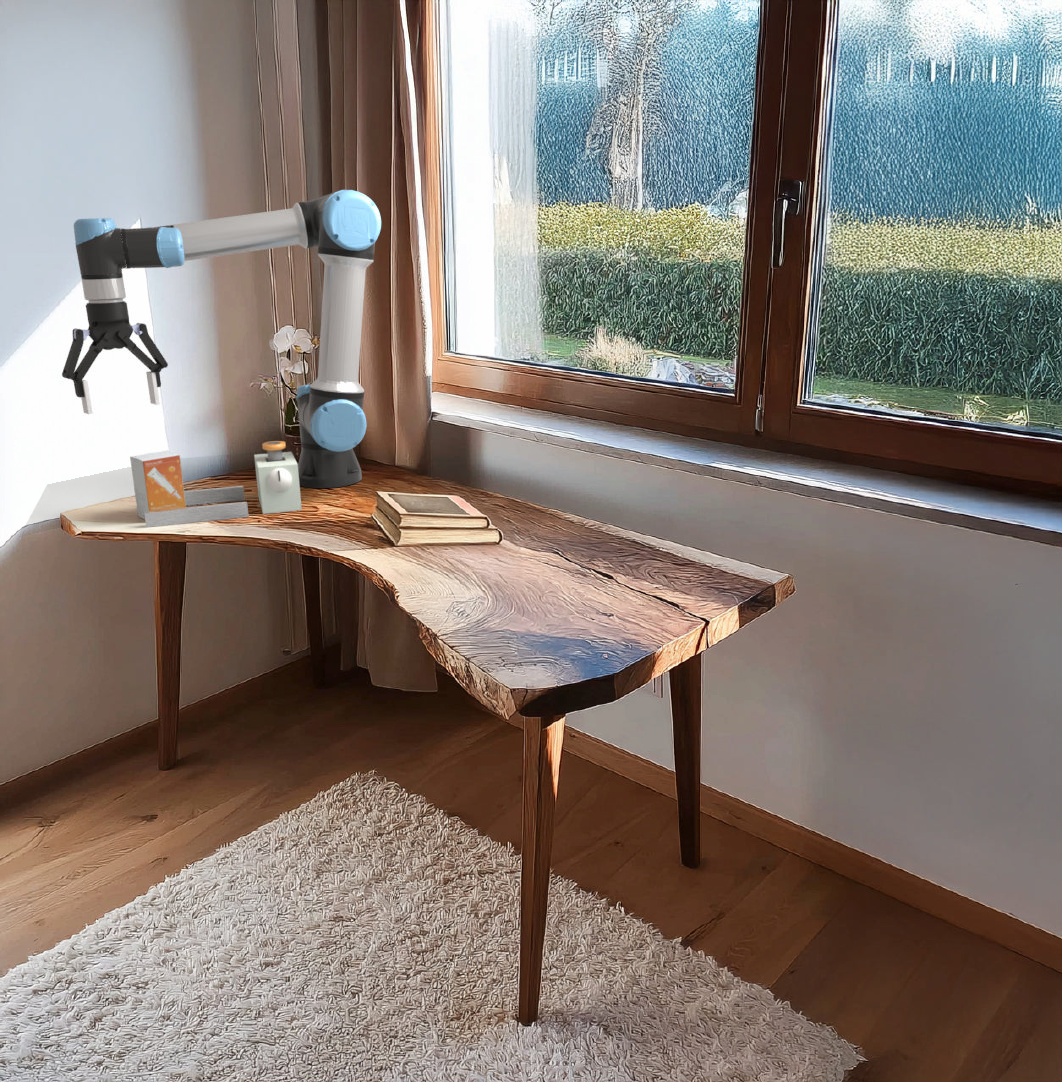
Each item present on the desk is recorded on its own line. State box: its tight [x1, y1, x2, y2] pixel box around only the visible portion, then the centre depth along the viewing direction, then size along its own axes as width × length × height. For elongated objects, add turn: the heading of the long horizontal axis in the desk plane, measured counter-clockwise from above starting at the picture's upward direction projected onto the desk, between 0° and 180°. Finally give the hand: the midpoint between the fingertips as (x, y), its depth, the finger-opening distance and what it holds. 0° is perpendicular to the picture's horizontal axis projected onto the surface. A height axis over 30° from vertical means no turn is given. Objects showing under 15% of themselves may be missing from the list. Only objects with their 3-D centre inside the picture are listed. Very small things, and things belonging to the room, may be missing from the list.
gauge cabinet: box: [253, 451, 303, 515], centre depth 212 cm, size 8×14×10 cm, turn 19°
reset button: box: [261, 440, 287, 462], centre depth 210 cm, size 5×5×6 cm
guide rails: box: [144, 485, 249, 528], centre depth 208 cm, size 20×15×3 cm
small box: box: [129, 450, 187, 520], centre depth 204 cm, size 8×6×13 cm
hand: (122, 408), depth 199 cm, fingers open, 13 cm apart
